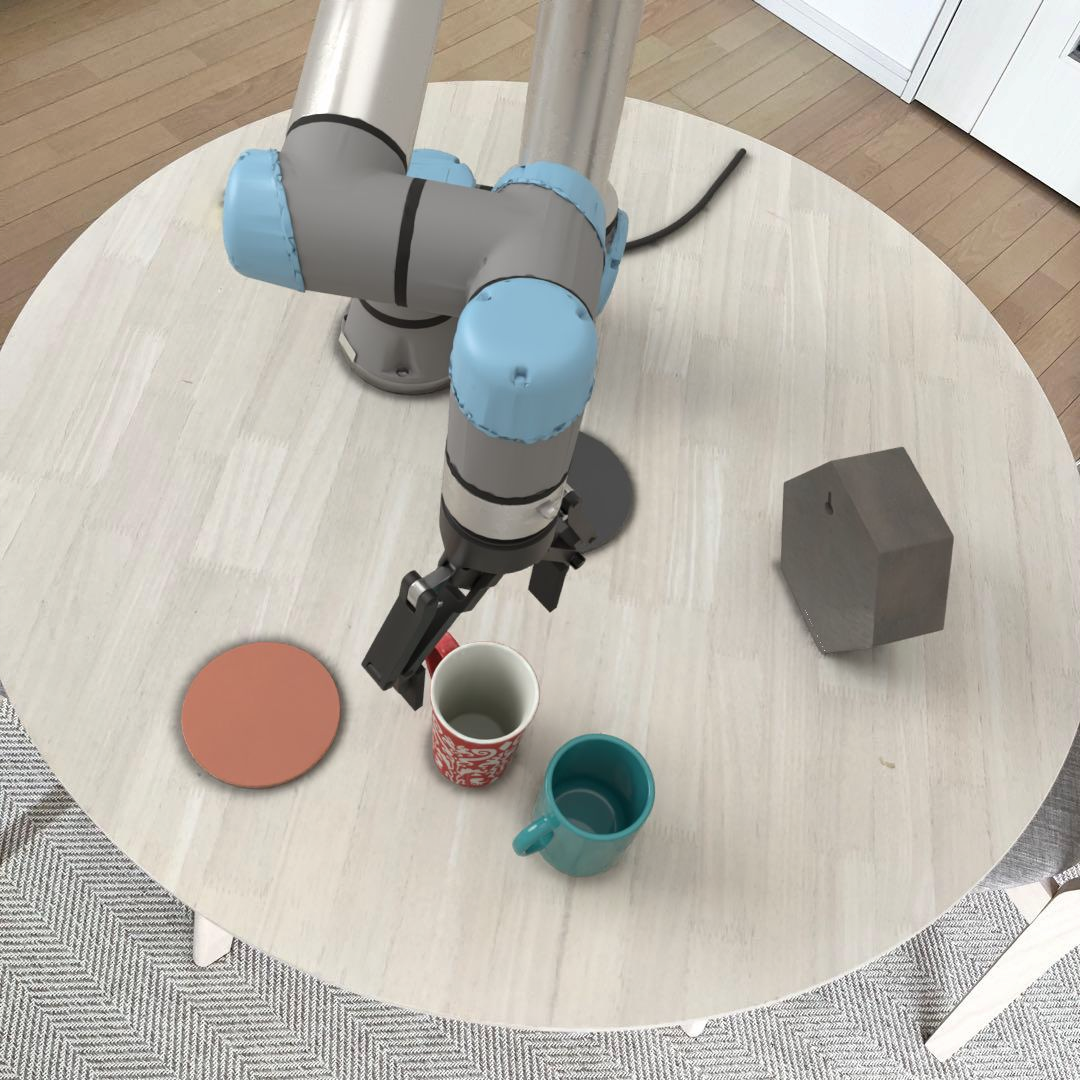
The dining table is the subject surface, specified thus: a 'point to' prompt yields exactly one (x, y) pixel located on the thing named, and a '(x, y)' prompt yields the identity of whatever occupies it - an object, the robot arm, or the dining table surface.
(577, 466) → the coaster slate
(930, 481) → the dining table surface
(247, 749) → the coaster terracotta
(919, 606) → the dark grey boxy piece
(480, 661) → the mug
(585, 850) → the cup
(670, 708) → the dining table surface
